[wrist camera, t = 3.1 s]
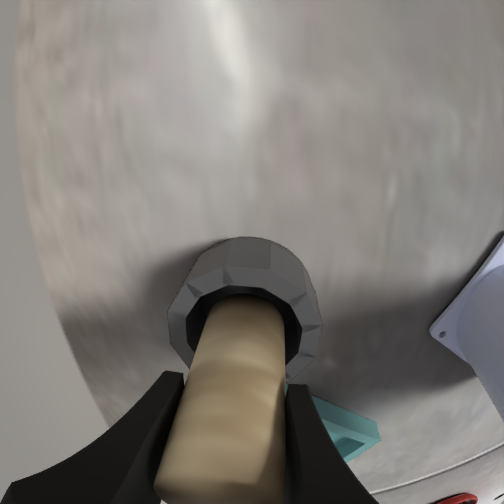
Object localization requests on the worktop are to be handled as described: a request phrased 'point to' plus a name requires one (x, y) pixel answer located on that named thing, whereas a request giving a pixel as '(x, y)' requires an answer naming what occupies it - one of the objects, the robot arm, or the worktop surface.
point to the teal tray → (346, 429)
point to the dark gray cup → (253, 282)
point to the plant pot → (460, 499)
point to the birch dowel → (231, 411)
